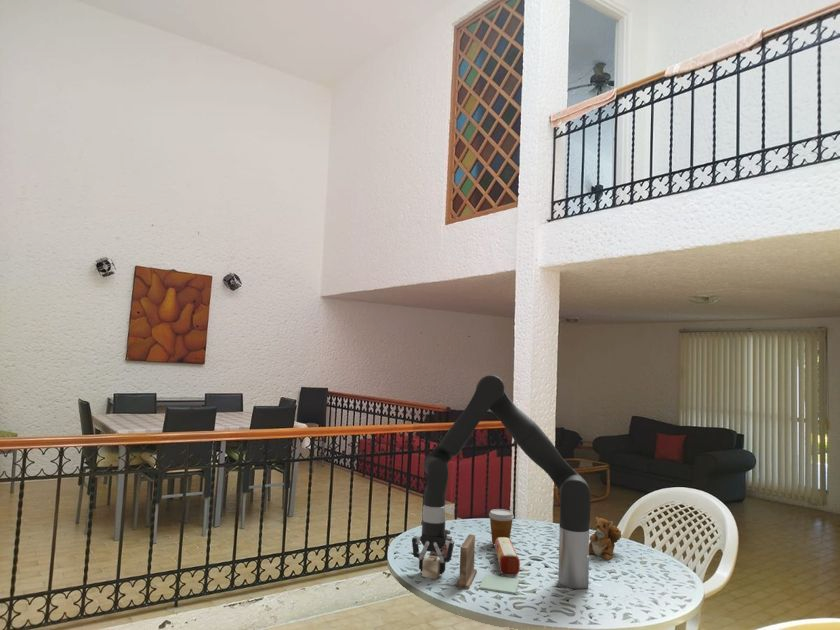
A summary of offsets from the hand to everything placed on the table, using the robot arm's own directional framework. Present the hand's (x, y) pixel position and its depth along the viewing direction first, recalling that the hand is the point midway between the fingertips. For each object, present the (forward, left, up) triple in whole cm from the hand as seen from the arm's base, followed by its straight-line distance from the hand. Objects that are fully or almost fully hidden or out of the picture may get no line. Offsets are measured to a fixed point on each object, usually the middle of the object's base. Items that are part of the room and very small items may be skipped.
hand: (431, 572), depth 181 cm
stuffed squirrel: (-54, -44, -1) cm, 70 cm away
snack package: (-22, -19, -1) cm, 29 cm away
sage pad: (-22, 0, -1) cm, 22 cm away
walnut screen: (-12, 0, -1) cm, 12 cm away
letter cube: (0, 0, -1) cm, 1 cm away
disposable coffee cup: (-17, -39, -1) cm, 43 cm away
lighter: (+1, -16, -1) cm, 16 cm away
